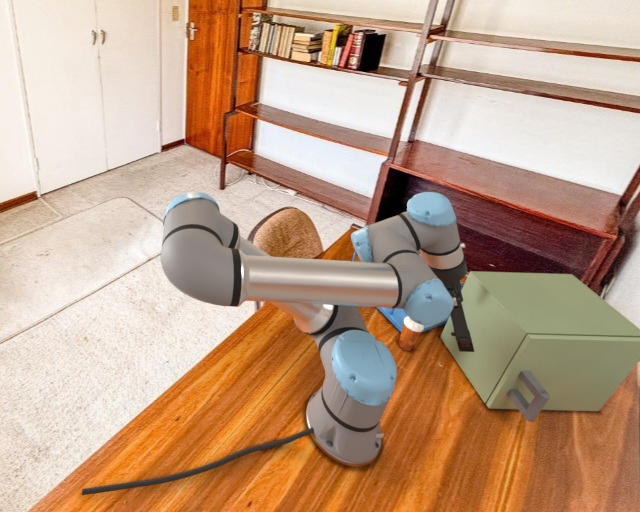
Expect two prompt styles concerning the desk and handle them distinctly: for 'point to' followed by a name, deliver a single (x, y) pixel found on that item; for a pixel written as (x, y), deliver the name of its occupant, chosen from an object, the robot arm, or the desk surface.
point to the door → (564, 373)
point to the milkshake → (409, 333)
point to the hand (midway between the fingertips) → (459, 322)
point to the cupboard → (525, 319)
